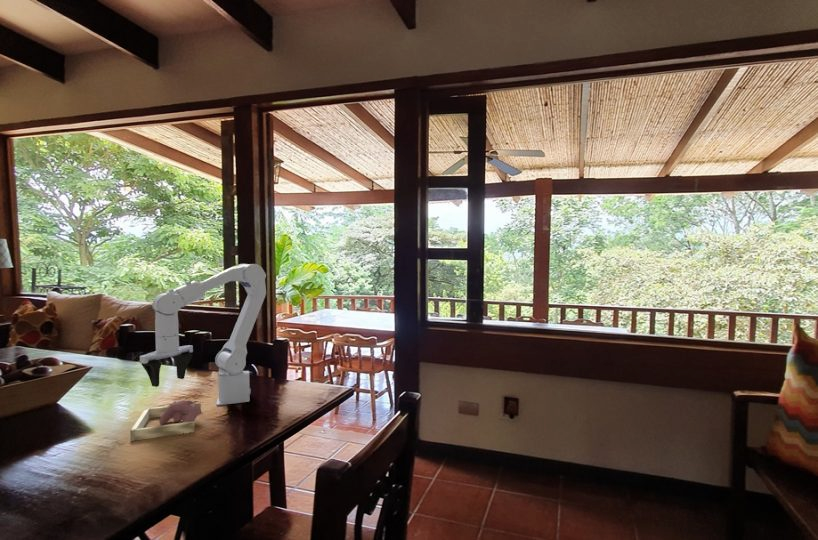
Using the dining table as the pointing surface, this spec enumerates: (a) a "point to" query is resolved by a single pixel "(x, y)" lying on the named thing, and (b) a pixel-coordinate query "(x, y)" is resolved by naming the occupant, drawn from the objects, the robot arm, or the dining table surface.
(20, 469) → the dining table surface
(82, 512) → the dining table surface
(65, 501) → the dining table surface
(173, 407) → the video game controller
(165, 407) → the bay
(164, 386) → the dining table surface
